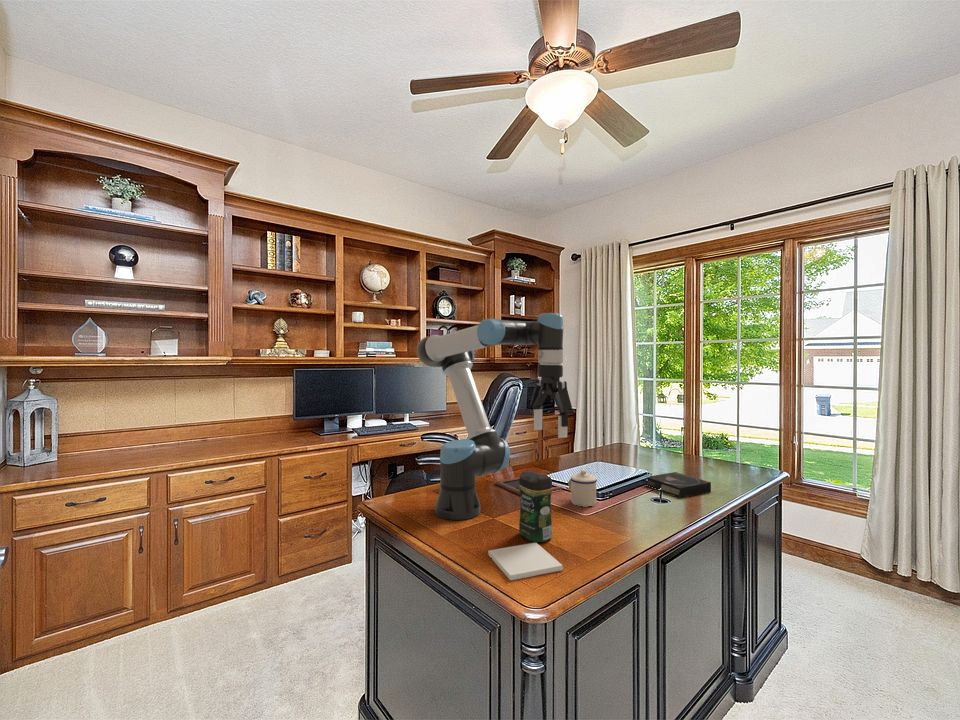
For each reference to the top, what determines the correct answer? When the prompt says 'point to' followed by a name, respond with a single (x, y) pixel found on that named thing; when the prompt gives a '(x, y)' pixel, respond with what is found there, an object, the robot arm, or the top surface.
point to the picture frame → (516, 484)
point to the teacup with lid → (583, 489)
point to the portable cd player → (679, 484)
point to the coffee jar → (535, 506)
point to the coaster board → (524, 561)
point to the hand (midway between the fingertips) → (549, 433)
